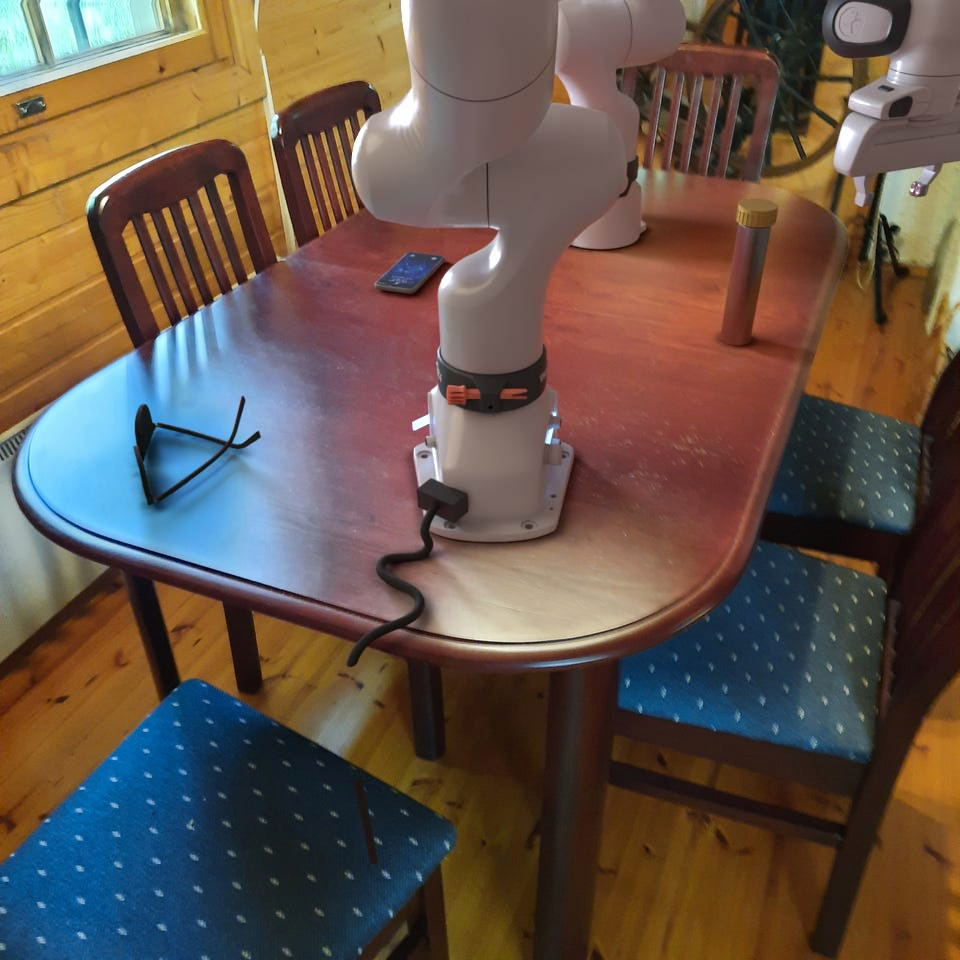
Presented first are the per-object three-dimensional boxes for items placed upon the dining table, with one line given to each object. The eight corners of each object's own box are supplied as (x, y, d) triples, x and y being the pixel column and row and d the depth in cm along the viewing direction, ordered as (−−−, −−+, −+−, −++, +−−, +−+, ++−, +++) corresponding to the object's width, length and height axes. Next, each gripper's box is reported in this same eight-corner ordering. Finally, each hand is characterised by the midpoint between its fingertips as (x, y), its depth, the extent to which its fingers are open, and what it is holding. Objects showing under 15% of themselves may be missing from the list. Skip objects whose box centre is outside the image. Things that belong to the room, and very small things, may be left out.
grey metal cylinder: (715, 340, 123) (735, 209, 111) (727, 329, 125) (748, 200, 114) (743, 348, 121) (767, 215, 109) (754, 337, 123) (779, 206, 112)
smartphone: (447, 255, 148) (413, 290, 136) (447, 261, 148) (413, 296, 137) (407, 250, 150) (371, 284, 138) (407, 255, 150) (371, 290, 139)
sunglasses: (270, 486, 97) (262, 449, 94) (137, 510, 94) (125, 474, 91) (257, 411, 110) (250, 377, 107) (140, 430, 107) (130, 396, 104)
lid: (729, 223, 112) (731, 206, 111) (744, 211, 116) (747, 195, 114) (766, 230, 110) (769, 214, 109) (781, 219, 113) (784, 202, 112)
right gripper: (963, 81, 116) (932, 184, 124) (839, 95, 110) (815, 202, 118) (1001, 91, 111) (966, 197, 119) (873, 107, 105) (846, 217, 113)
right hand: (890, 200), depth 119 cm, fingers open, 8 cm apart
